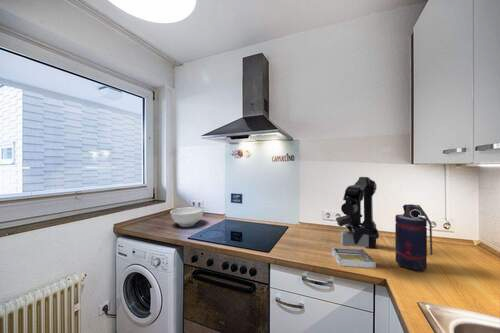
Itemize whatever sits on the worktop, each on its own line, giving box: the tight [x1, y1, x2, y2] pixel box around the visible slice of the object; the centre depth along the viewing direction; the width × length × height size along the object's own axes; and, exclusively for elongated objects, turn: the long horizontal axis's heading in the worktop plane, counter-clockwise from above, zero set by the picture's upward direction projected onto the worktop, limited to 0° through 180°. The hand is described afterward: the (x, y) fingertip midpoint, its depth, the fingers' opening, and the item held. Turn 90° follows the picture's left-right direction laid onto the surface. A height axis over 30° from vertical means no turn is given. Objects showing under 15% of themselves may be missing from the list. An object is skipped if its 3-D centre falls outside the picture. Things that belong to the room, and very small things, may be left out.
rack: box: [330, 247, 377, 269], centre depth 102 cm, size 16×15×4 cm
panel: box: [339, 230, 369, 248], centre depth 99 cm, size 12×4×6 cm, turn 81°
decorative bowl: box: [169, 206, 205, 228], centre depth 164 cm, size 27×27×12 cm
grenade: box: [394, 203, 433, 273], centre depth 95 cm, size 14×12×30 cm
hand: (354, 242), depth 99 cm, fingers closed on panel, 4 cm apart
